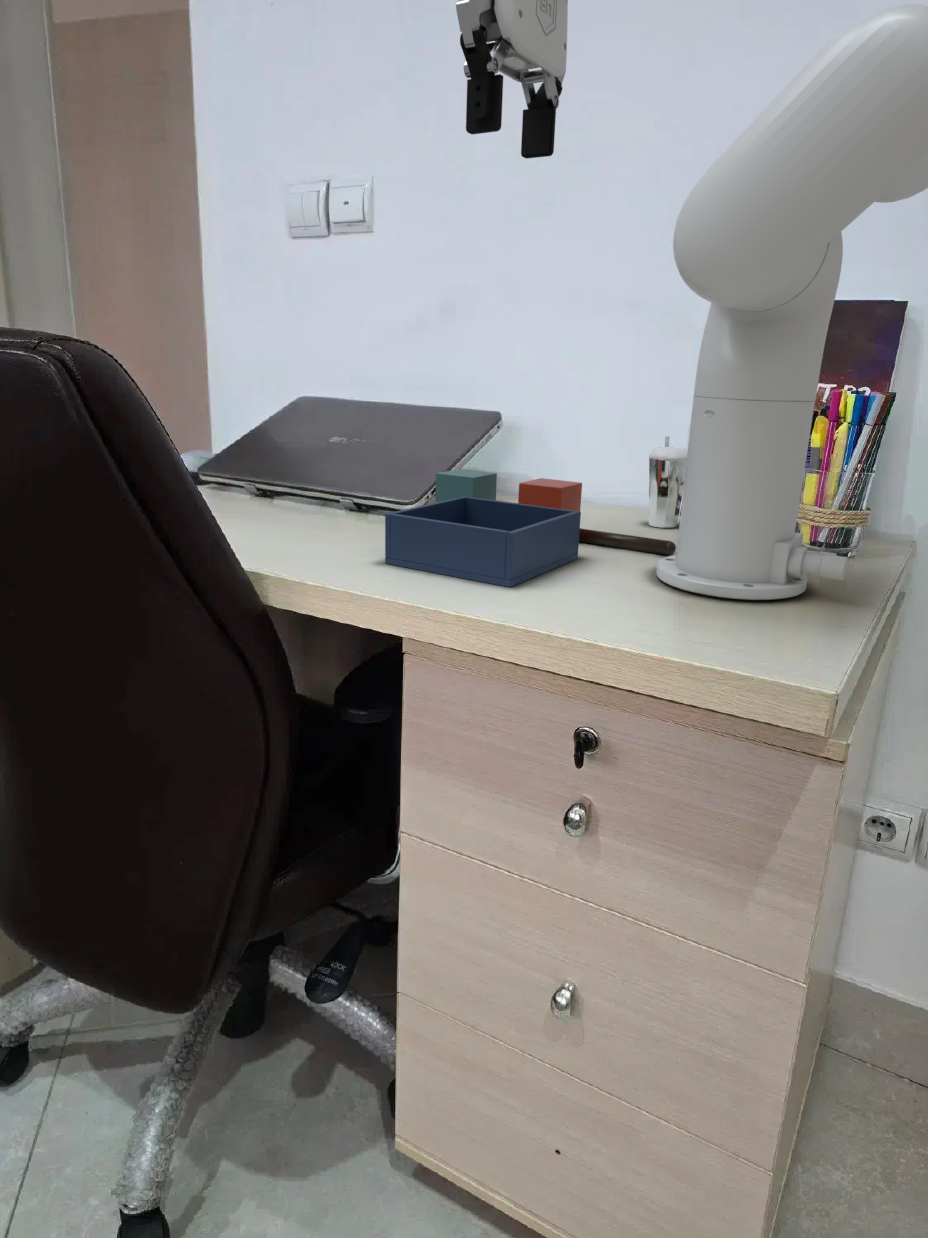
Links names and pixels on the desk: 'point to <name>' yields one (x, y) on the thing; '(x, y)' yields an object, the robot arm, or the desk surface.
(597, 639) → the desk surface
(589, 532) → the dark brown dowel rod
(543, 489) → the block red
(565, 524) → the basket
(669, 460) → the milkshake
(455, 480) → the block teal
